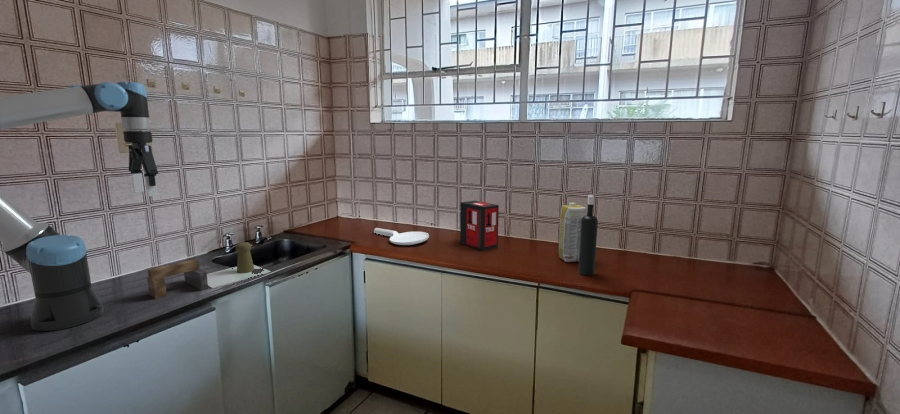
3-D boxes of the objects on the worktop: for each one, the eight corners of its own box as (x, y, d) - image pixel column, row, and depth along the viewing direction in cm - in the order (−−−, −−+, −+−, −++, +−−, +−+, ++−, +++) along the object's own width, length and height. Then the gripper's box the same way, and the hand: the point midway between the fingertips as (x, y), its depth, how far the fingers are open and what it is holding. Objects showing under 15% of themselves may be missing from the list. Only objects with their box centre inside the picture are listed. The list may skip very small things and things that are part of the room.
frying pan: (362, 241, 209) (361, 232, 208) (390, 231, 222) (389, 223, 221) (409, 250, 186) (408, 240, 185) (437, 239, 199) (436, 230, 198)
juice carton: (577, 256, 176) (580, 201, 171) (585, 261, 168) (589, 204, 164) (556, 257, 174) (559, 202, 170) (564, 263, 166) (567, 205, 162)
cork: (247, 273, 152) (244, 245, 150) (233, 272, 153) (230, 244, 151) (257, 268, 158) (255, 241, 156) (244, 267, 159) (241, 240, 157)
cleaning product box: (460, 243, 196) (460, 202, 193) (474, 240, 202) (474, 200, 198) (483, 250, 184) (484, 207, 180) (497, 247, 189) (498, 205, 186)
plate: (212, 288, 139) (212, 287, 139) (192, 278, 148) (192, 277, 148) (270, 272, 155) (270, 271, 155) (249, 264, 165) (249, 263, 165)
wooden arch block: (160, 302, 128) (157, 274, 126) (145, 291, 136) (141, 266, 135) (208, 289, 139) (205, 263, 137) (191, 280, 147) (188, 256, 146)
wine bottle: (579, 270, 158) (583, 193, 153) (594, 271, 156) (599, 194, 150) (577, 274, 153) (582, 195, 147) (593, 276, 151) (599, 196, 145)
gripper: (164, 130, 131) (172, 195, 135) (138, 130, 146) (146, 189, 150) (136, 130, 125) (145, 198, 129) (111, 130, 140) (120, 191, 144)
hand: (145, 194), depth 139 cm, fingers open, 13 cm apart
